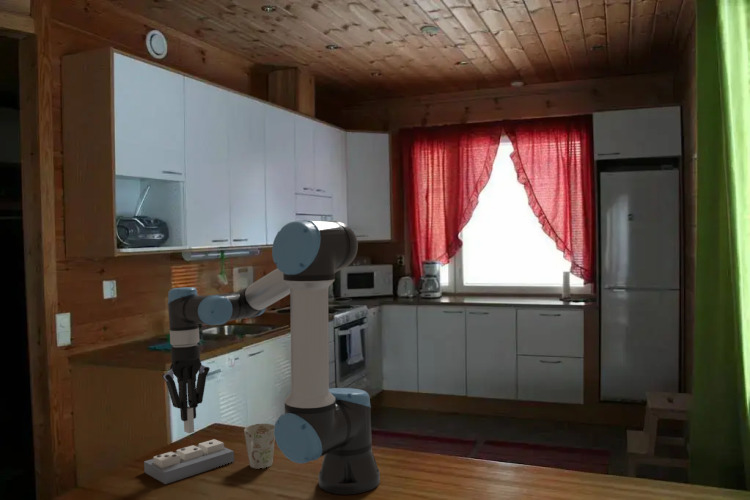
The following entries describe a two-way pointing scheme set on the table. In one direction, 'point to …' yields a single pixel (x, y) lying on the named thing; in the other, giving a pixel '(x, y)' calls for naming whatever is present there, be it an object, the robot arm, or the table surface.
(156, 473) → the board
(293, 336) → the robot arm
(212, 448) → the white block
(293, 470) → the table surface
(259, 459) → the mug
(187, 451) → the white die
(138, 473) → the table surface
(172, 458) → the white block with dots
